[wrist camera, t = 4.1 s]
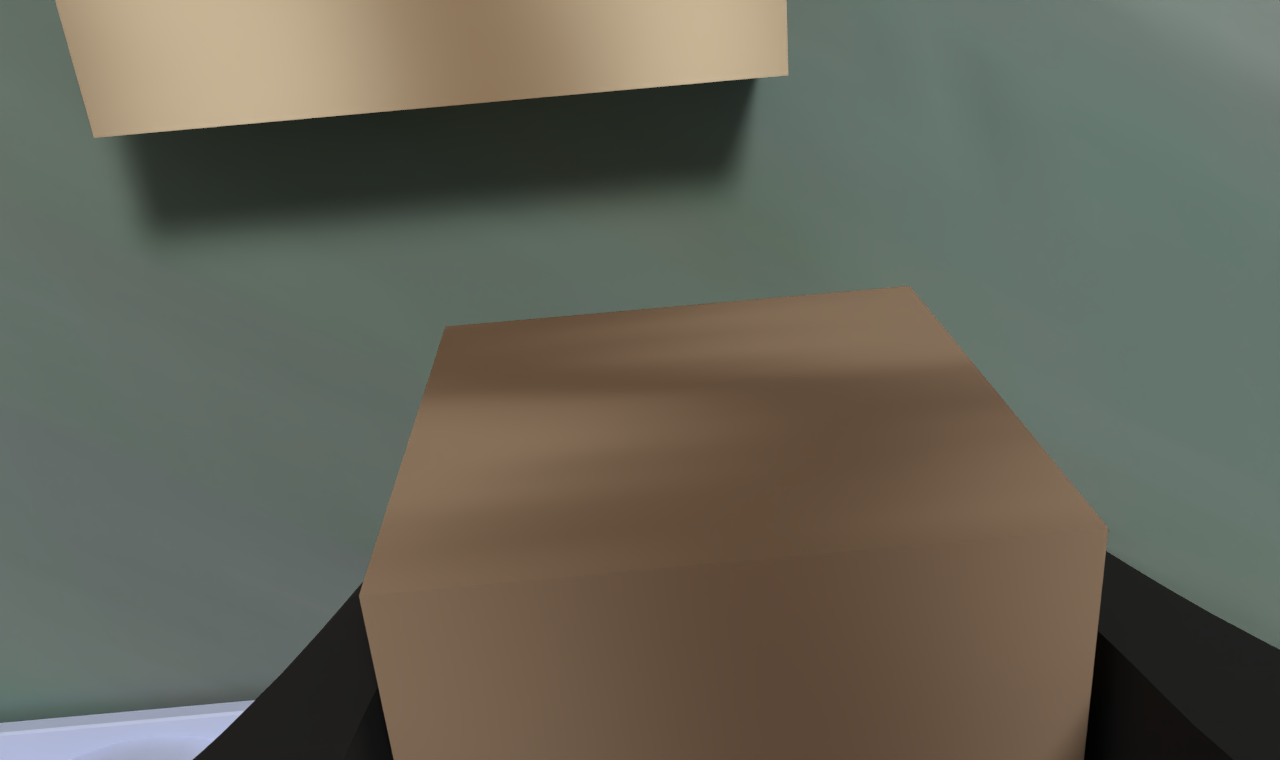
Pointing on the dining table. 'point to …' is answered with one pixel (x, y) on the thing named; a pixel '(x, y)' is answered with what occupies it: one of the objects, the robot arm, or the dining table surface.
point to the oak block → (395, 54)
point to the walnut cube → (730, 545)
